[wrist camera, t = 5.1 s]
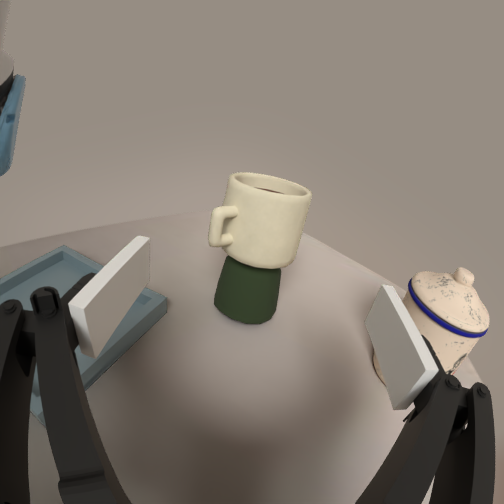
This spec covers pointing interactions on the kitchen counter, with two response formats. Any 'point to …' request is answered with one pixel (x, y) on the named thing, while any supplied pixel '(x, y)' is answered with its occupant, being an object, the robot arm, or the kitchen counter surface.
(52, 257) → the tray
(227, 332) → the kitchen counter surface
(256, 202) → the character mug
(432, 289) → the teacup with lid
